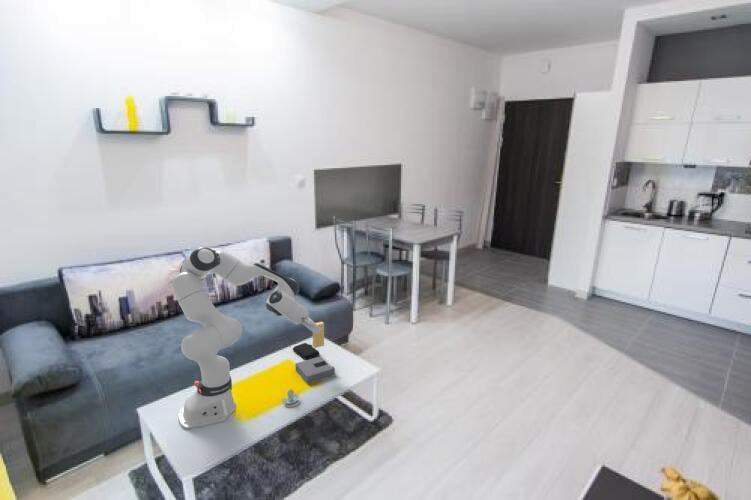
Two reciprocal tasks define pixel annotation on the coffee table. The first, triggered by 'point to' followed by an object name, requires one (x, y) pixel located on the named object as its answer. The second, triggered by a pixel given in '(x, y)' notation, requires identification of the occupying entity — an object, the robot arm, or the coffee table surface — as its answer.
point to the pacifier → (291, 399)
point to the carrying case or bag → (306, 351)
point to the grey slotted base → (315, 369)
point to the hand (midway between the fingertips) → (317, 329)
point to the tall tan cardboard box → (319, 336)
